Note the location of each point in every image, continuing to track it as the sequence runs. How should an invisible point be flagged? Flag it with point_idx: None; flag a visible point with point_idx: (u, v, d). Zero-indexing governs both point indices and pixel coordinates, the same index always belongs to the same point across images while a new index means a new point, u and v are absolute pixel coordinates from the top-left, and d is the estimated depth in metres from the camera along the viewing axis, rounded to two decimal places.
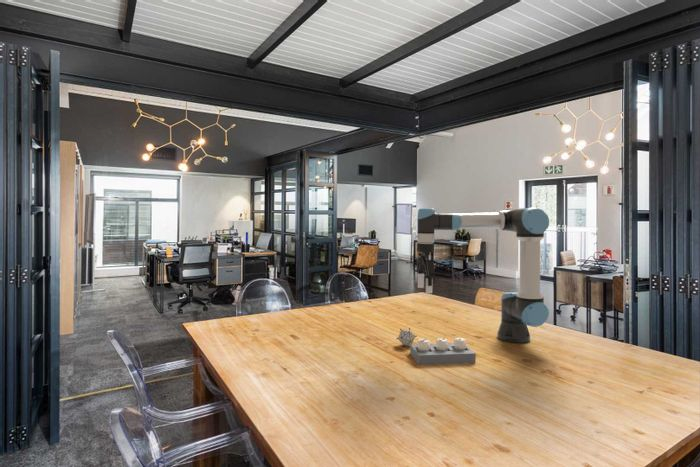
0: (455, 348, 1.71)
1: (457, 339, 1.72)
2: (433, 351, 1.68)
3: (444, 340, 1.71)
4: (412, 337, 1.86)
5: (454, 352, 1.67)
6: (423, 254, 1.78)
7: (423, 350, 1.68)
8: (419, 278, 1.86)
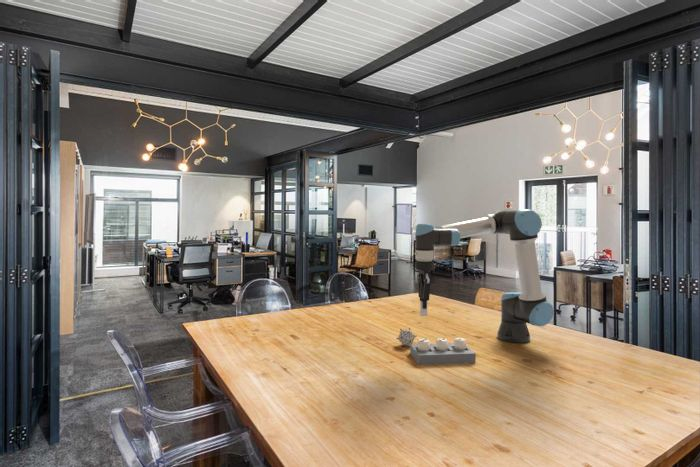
0: (455, 348, 1.71)
1: (457, 339, 1.72)
2: (433, 351, 1.68)
3: (444, 340, 1.71)
4: (412, 337, 1.86)
5: (454, 352, 1.67)
6: (422, 269, 1.67)
7: (423, 350, 1.68)
8: None
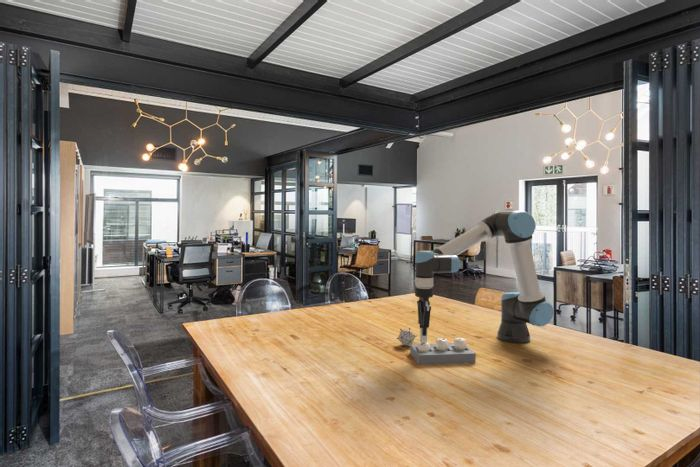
0: (455, 348, 1.71)
1: (457, 339, 1.72)
2: (433, 351, 1.68)
3: (444, 340, 1.71)
4: (412, 337, 1.86)
5: (454, 352, 1.67)
6: None
7: None
8: None
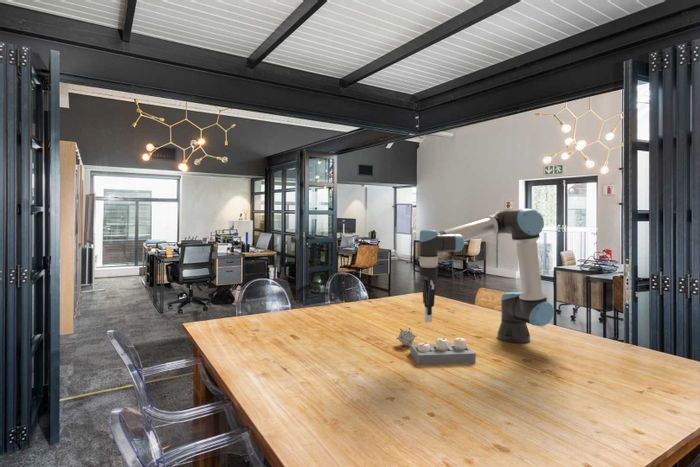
0: (455, 348, 1.71)
1: (457, 339, 1.72)
2: (433, 351, 1.68)
3: (444, 340, 1.71)
4: (412, 337, 1.86)
5: (454, 352, 1.67)
6: (427, 275, 1.68)
7: None
8: None
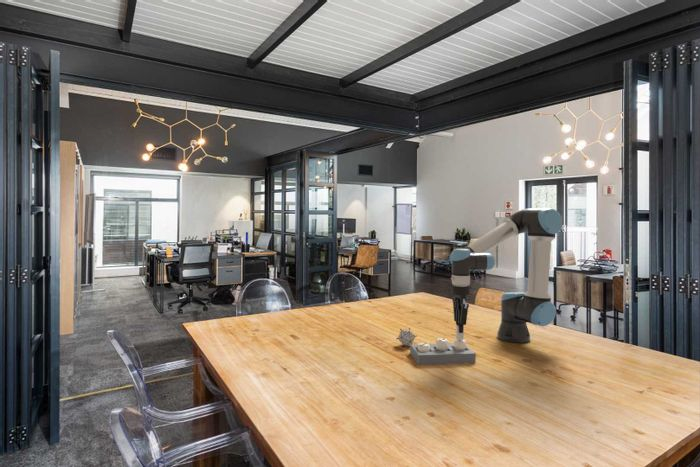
0: (455, 349, 1.71)
1: (457, 340, 1.72)
2: (433, 351, 1.68)
3: (444, 340, 1.71)
4: (412, 337, 1.86)
5: (454, 352, 1.67)
6: None
7: None
8: None
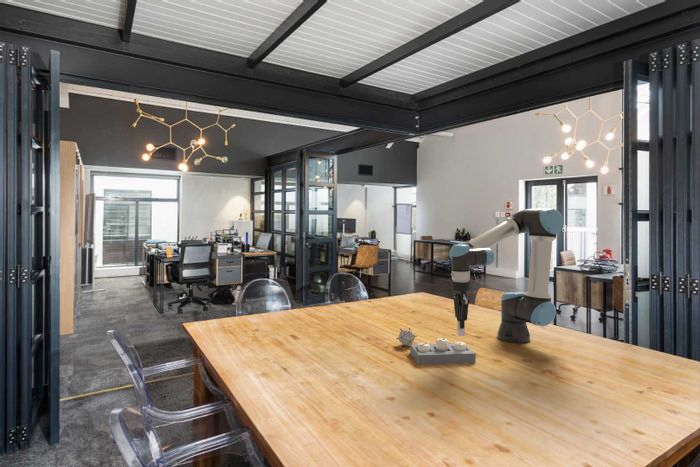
0: None
1: (457, 343, 1.72)
2: (433, 351, 1.68)
3: (444, 340, 1.71)
4: (412, 337, 1.86)
5: (454, 352, 1.67)
6: None
7: None
8: None
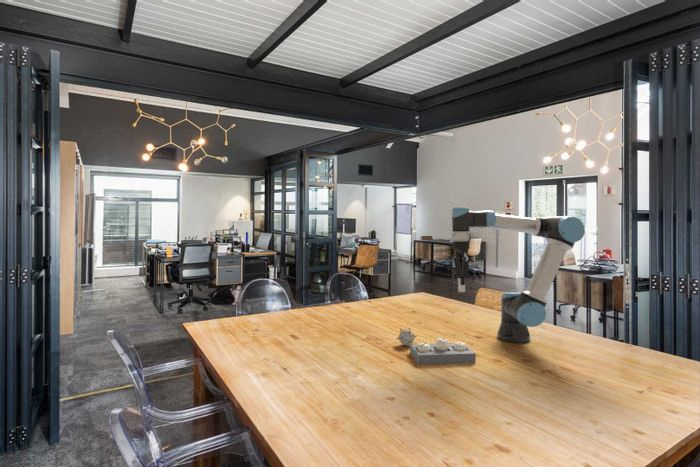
0: None
1: (457, 343, 1.72)
2: (433, 351, 1.68)
3: (444, 340, 1.71)
4: (412, 337, 1.86)
5: (454, 352, 1.67)
6: None
7: None
8: None
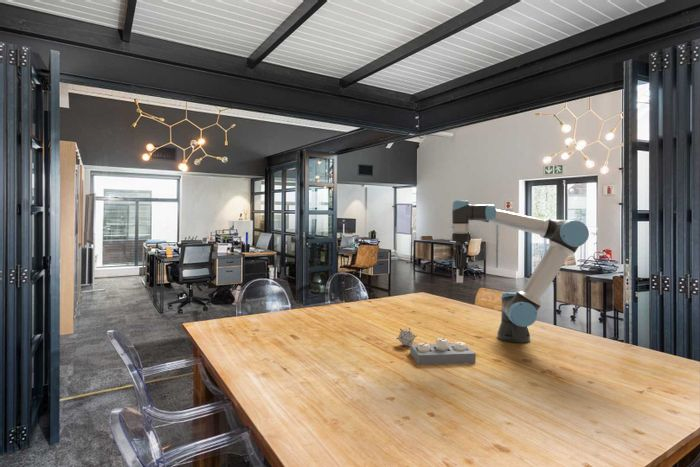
0: None
1: (457, 343, 1.72)
2: (433, 351, 1.68)
3: (444, 340, 1.71)
4: (412, 337, 1.86)
5: (454, 352, 1.67)
6: None
7: None
8: None
